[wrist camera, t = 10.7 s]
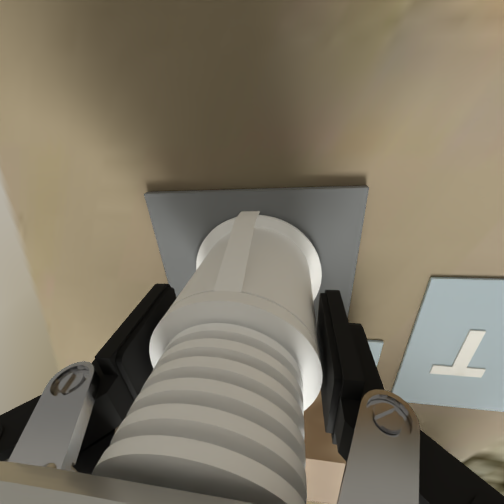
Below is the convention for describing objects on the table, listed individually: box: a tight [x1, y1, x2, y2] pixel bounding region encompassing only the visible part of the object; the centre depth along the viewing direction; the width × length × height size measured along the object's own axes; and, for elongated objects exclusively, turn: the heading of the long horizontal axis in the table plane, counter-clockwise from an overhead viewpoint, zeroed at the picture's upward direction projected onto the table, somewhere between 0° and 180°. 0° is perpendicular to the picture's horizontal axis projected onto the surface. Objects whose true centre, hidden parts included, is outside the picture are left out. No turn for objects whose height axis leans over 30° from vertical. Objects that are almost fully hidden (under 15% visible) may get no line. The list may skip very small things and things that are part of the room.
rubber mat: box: [144, 186, 369, 327], centre depth 14 cm, size 11×9×1 cm
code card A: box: [391, 277, 504, 412], centre depth 15 cm, size 11×11×1 cm
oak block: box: [303, 389, 346, 504], centre depth 15 cm, size 5×5×6 cm
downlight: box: [92, 211, 323, 504], centre depth 9 cm, size 8×7×10 cm
